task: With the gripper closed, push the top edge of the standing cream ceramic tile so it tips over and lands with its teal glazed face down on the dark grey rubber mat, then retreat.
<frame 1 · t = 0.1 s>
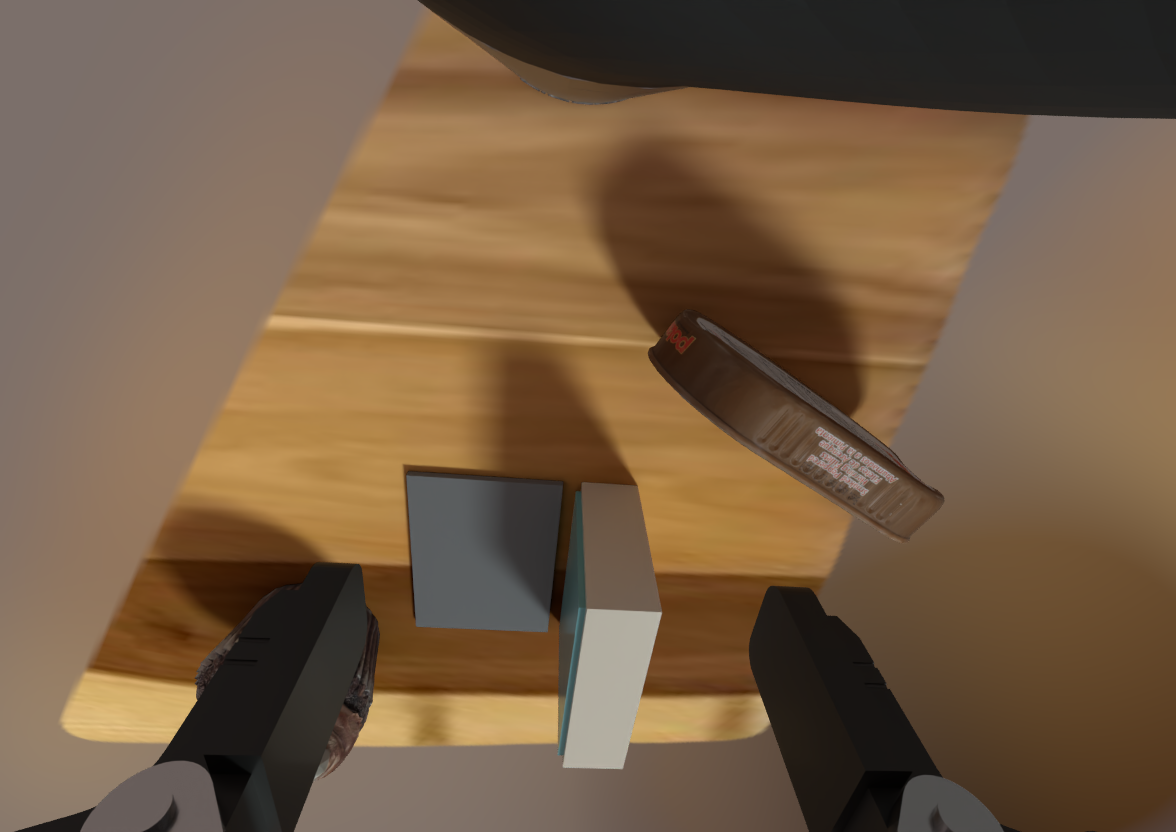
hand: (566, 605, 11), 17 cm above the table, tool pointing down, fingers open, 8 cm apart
tin: (766, 381, 28), on the table
mat: (484, 556, 33), on the table
cupcake: (319, 623, 36), on the table
tile: (594, 561, 34), on the table
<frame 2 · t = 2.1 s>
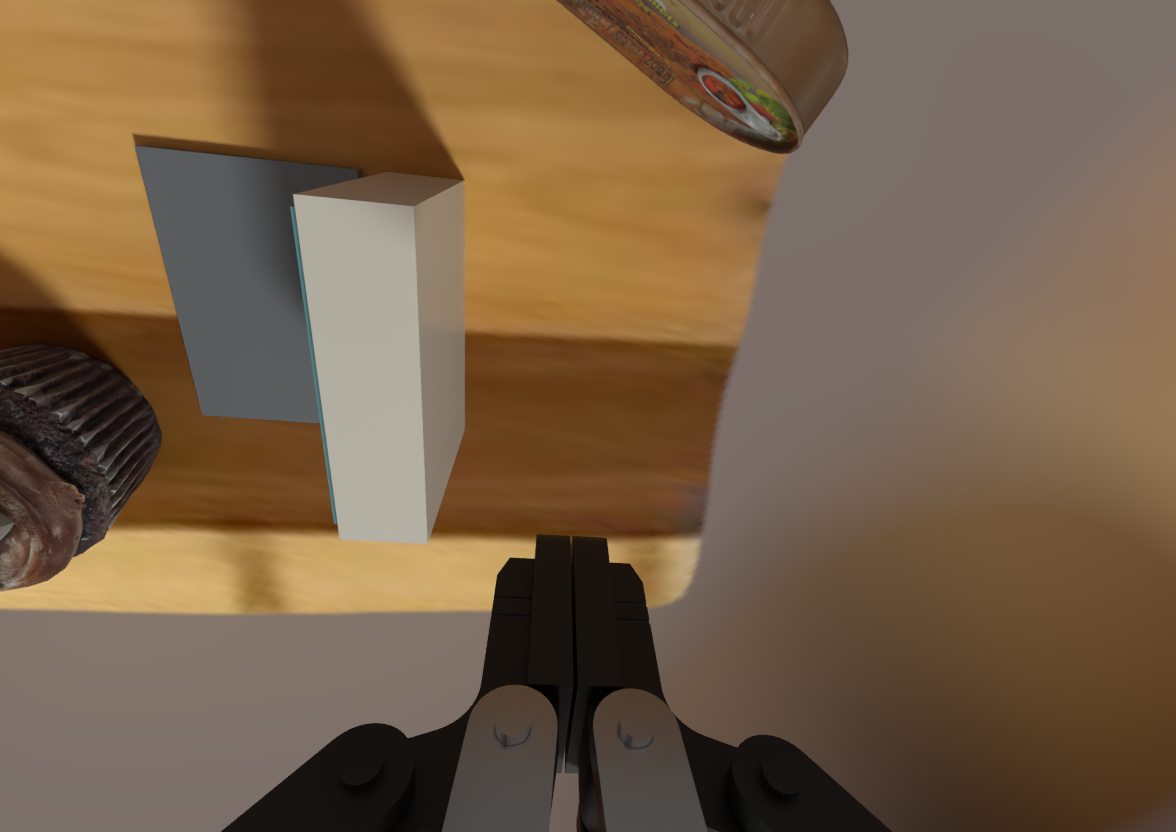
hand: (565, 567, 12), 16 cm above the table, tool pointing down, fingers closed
mat: (276, 301, 25), on the table
cupcake: (79, 416, 27), on the table
tile: (427, 314, 26), on the table
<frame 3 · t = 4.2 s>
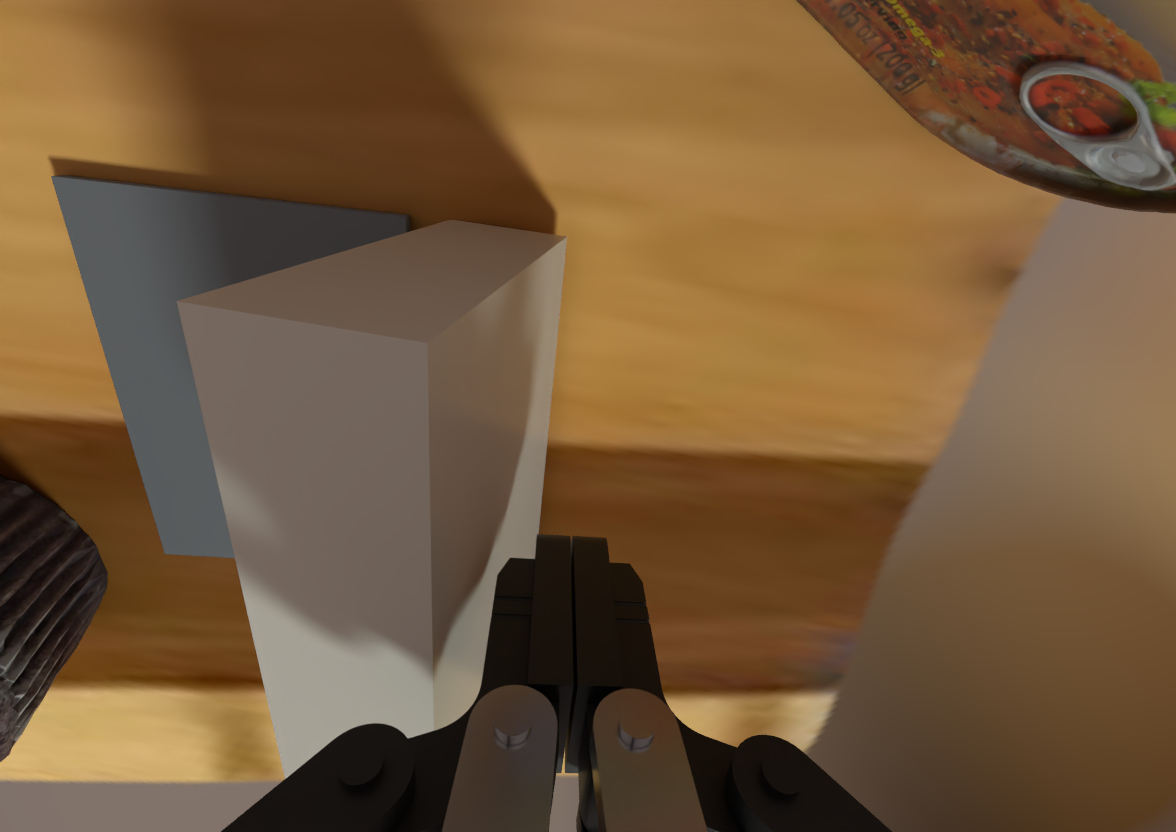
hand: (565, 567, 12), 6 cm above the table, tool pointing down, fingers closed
mat: (274, 403, 17), on the table
tile: (494, 424, 17), on the table, tilted 11°
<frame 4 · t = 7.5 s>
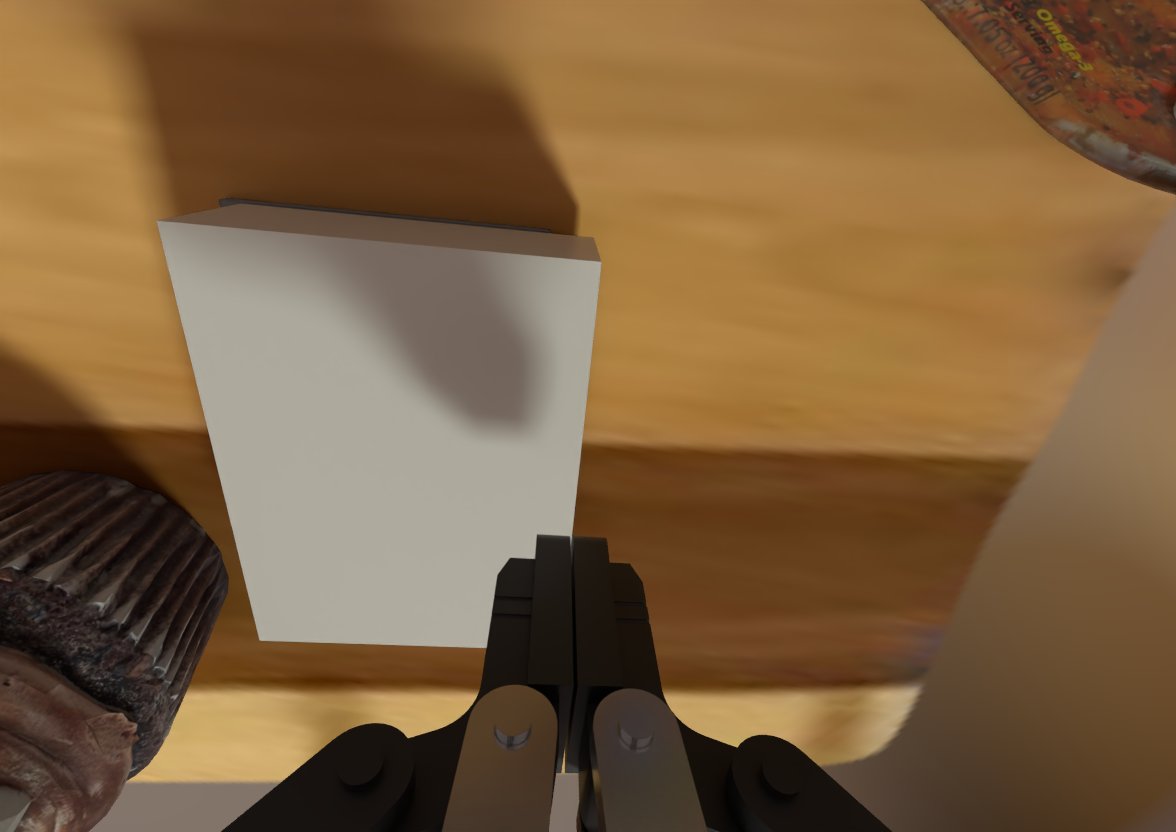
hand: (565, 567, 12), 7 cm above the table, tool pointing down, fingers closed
mat: (404, 412, 17), on the table
cupcake: (117, 558, 20), on the table
tile: (575, 457, 16), point 2 cm above the table, tilted 90°, touching mat
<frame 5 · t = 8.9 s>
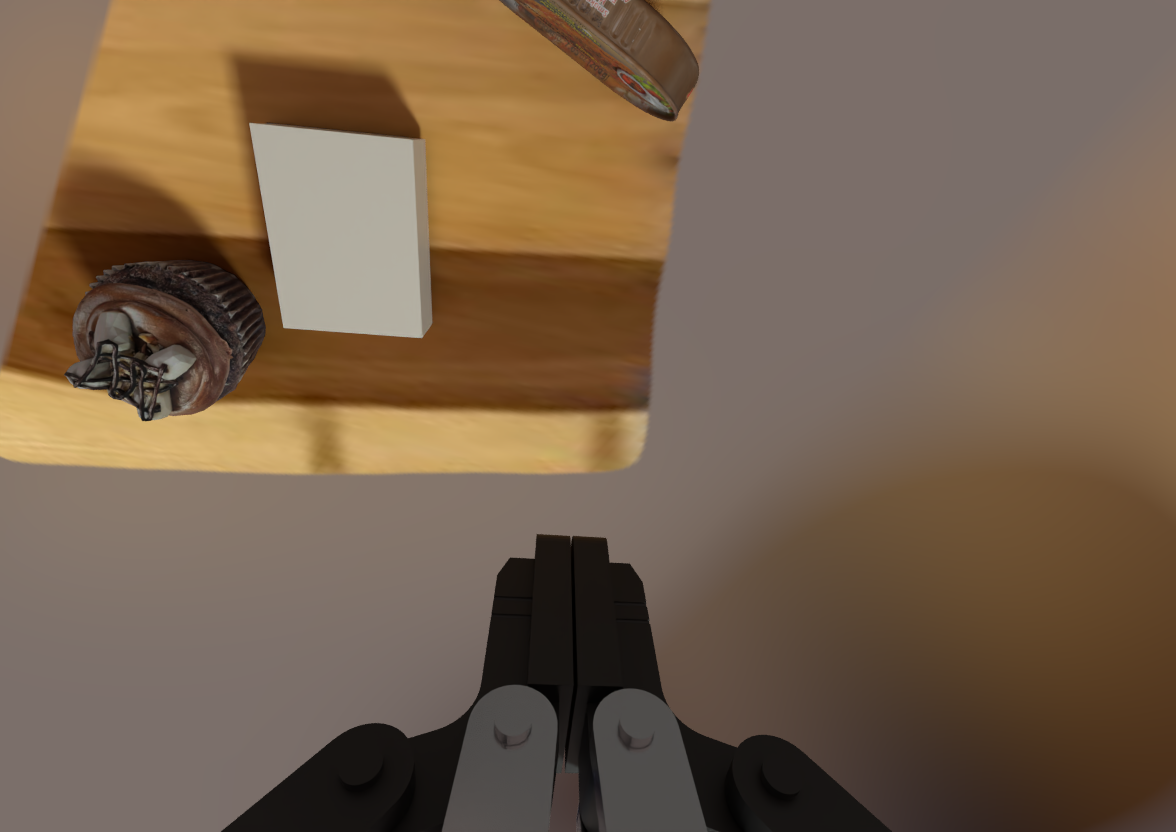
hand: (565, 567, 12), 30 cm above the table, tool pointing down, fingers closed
tin: (574, 23, 33), on the table
cupcake: (210, 314, 40), on the table
tile: (424, 241, 36), point 2 cm above the table, tilted 90°, touching mat
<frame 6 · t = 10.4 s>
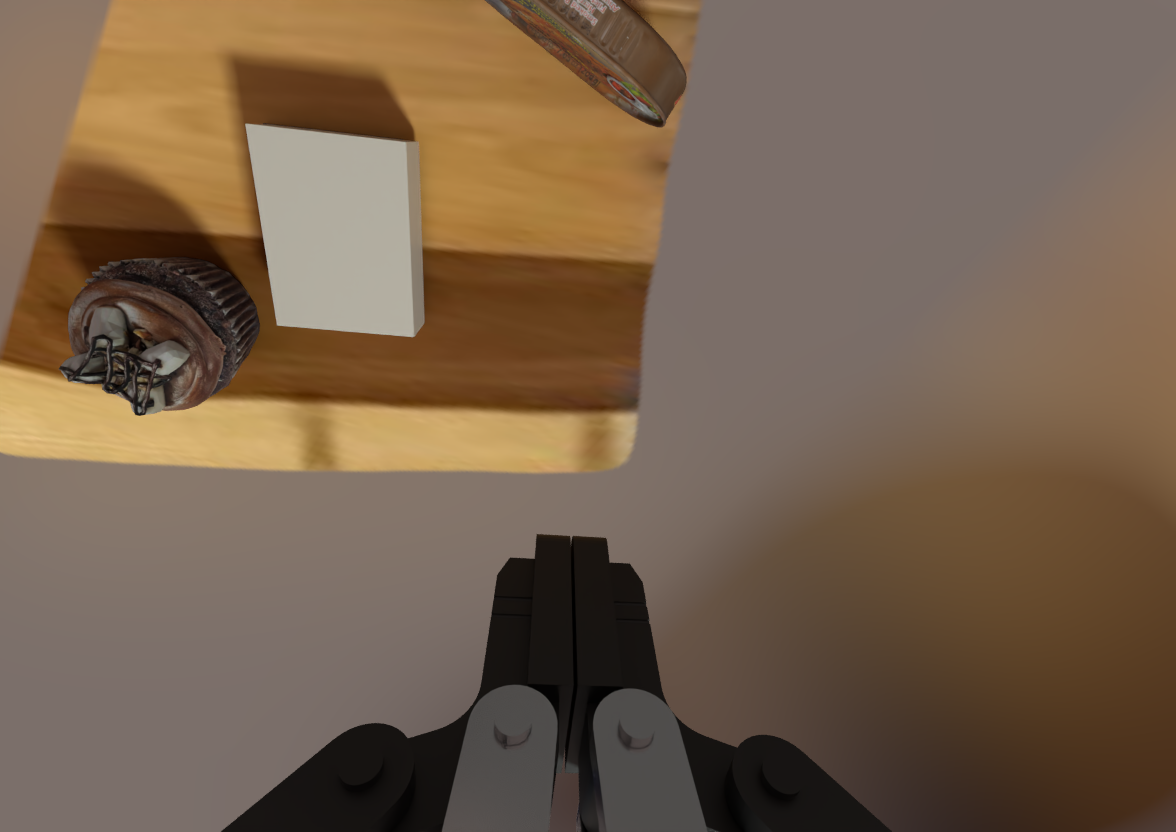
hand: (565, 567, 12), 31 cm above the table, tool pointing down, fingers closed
tin: (566, 30, 33), on the table
cupcake: (204, 311, 40), on the table
tile: (416, 242, 36), point 2 cm above the table, tilted 90°, touching mat
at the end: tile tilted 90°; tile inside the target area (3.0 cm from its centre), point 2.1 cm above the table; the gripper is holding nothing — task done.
